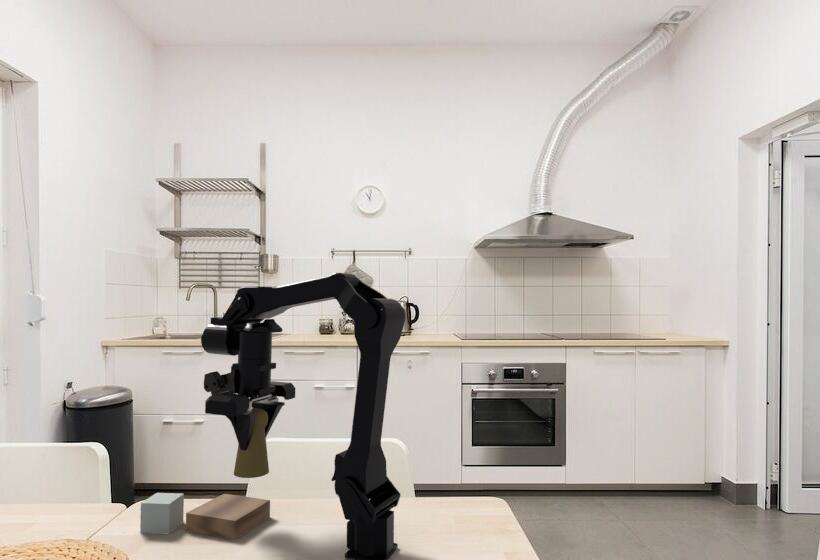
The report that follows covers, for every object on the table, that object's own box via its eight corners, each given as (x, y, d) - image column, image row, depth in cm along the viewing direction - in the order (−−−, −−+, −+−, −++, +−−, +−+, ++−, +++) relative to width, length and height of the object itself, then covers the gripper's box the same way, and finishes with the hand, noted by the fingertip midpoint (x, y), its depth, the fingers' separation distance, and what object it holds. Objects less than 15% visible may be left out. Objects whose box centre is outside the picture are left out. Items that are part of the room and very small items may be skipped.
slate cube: (183, 522, 97) (183, 493, 97) (168, 534, 92) (169, 503, 92) (156, 521, 97) (156, 492, 98) (140, 533, 92) (140, 503, 93)
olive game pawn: (259, 479, 93) (261, 414, 93) (226, 476, 94) (228, 411, 94) (275, 468, 99) (276, 407, 99) (244, 465, 100) (246, 405, 100)
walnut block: (269, 516, 99) (270, 500, 99) (235, 539, 90) (235, 520, 90) (223, 509, 103) (224, 493, 103) (185, 530, 93) (186, 512, 93)
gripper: (248, 350, 108) (246, 430, 108) (179, 360, 91) (176, 455, 90) (297, 353, 105) (295, 436, 104) (235, 364, 87) (232, 463, 87)
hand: (252, 446), depth 96 cm, fingers closed on olive game pawn, 4 cm apart
